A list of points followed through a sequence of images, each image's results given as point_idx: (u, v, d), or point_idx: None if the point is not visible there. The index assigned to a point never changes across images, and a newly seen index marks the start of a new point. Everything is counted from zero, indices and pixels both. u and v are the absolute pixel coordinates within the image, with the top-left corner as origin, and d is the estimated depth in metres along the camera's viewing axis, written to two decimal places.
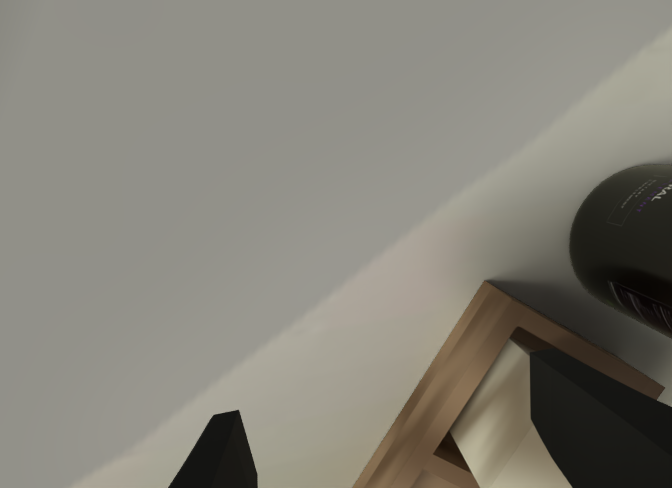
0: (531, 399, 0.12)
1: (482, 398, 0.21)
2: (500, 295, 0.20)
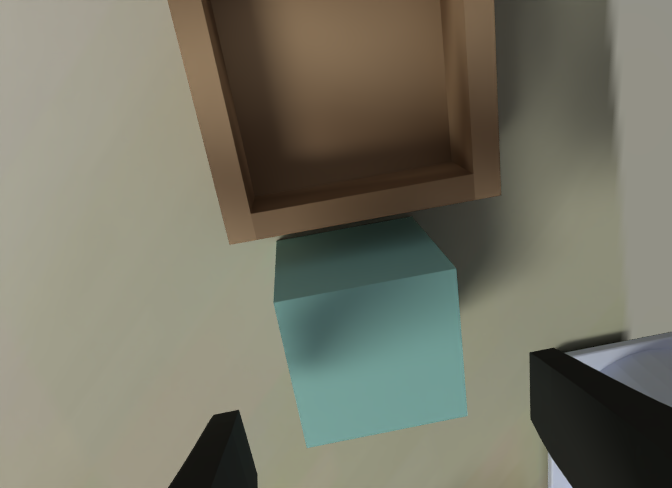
0: (531, 399, 0.12)
1: None
2: None
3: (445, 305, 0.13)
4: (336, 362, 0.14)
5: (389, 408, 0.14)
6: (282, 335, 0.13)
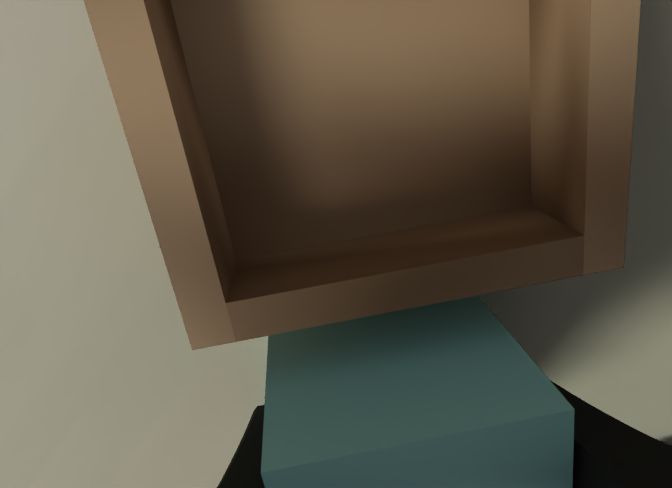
0: None
1: None
2: None
3: (550, 465, 0.08)
4: None
5: None
6: None
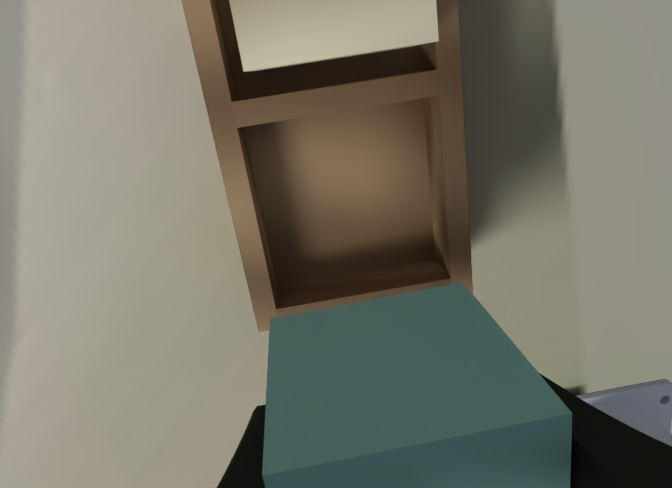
0: None
1: None
2: None
3: (548, 468, 0.08)
4: None
5: None
6: None
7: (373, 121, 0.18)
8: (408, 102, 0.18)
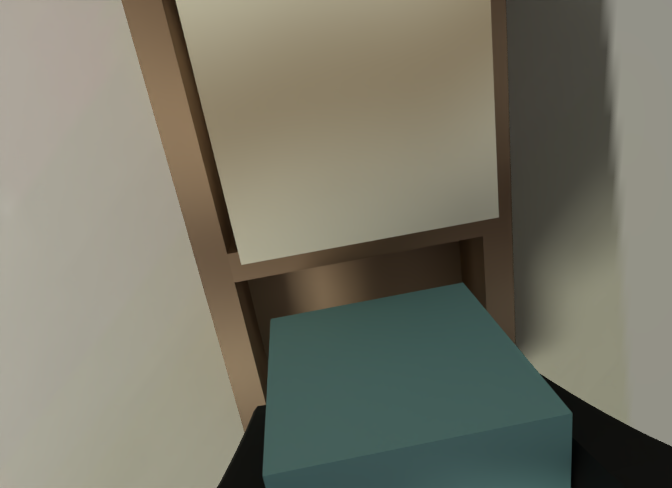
0: None
1: None
2: None
3: (549, 468, 0.08)
4: None
5: None
6: None
7: None
8: None
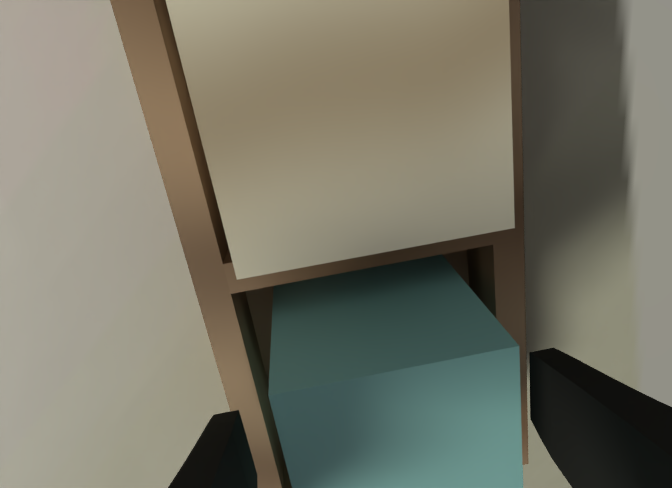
0: (531, 399, 0.12)
1: None
2: None
3: (502, 393, 0.10)
4: (353, 467, 0.10)
5: None
6: (280, 437, 0.10)
7: None
8: None
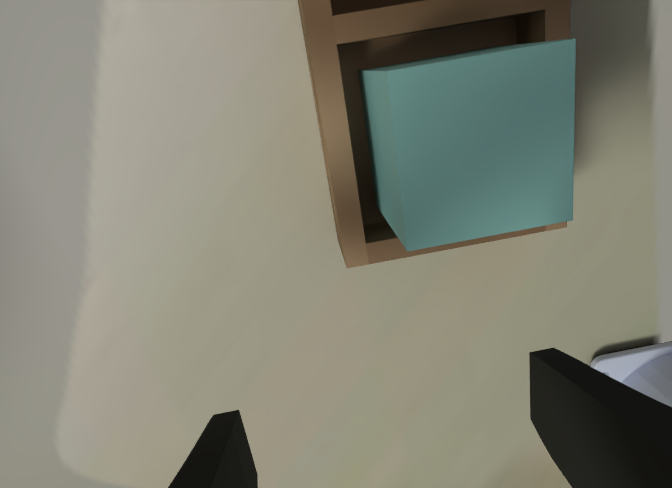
0: (531, 399, 0.12)
1: None
2: None
3: (561, 83, 0.13)
4: (444, 148, 0.13)
5: (494, 207, 0.14)
6: (392, 112, 0.13)
7: (464, 46, 0.17)
8: (501, 26, 0.17)
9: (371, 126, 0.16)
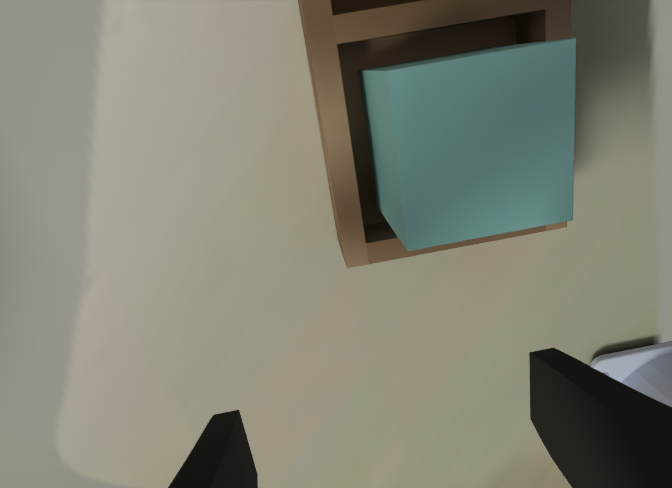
0: (531, 399, 0.12)
1: None
2: None
3: (561, 83, 0.13)
4: (445, 148, 0.13)
5: (494, 207, 0.14)
6: (393, 111, 0.13)
7: (464, 46, 0.17)
8: (501, 25, 0.17)
9: (371, 126, 0.16)
